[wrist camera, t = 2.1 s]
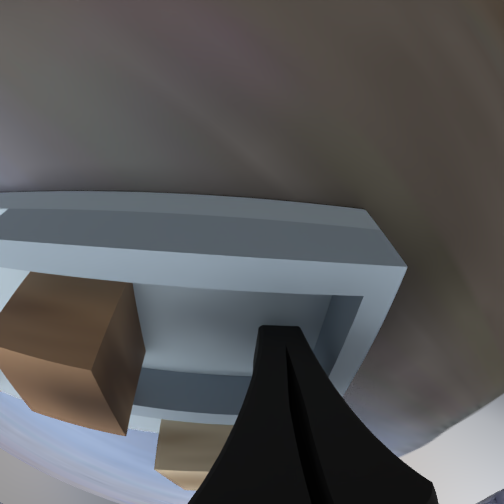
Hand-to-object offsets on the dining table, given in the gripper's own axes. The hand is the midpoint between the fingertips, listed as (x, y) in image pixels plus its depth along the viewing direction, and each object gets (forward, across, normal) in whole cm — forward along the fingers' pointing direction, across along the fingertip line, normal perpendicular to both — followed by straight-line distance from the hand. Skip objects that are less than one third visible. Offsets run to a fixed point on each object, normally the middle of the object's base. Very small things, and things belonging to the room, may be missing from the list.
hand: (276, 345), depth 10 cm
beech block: (+1, +2, +7) cm, 8 cm away
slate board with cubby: (+2, +9, +3) cm, 10 cm away
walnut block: (+1, +7, 0) cm, 7 cm away
